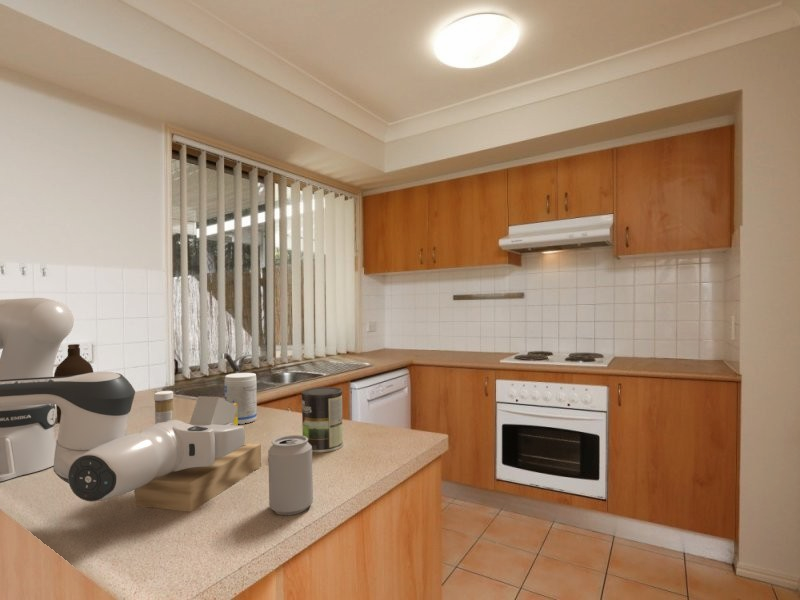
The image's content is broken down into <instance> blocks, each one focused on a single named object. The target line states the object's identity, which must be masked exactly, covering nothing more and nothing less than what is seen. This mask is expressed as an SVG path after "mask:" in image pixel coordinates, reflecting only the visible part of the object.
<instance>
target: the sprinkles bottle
mask: <svg viewBox="0 0 800 600" xmlns="http://www.w3.org/2000/svg"><path fill="white" fill-rule="evenodd" d="M173 399H174V392H173V391H172V390H162V391H158V392H157V391H156V392H155V393H154V394H153V400H154V425H155V424H157V423H161V422H167V421H170V420H174V407H173V405H174V403H173V401H174V400H173Z"/></svg>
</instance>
